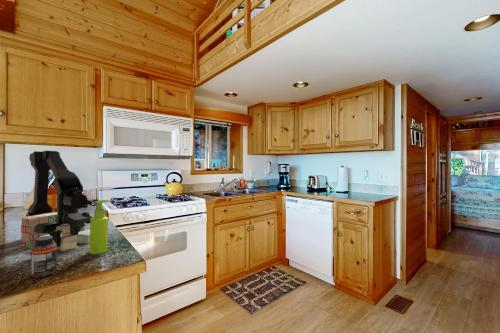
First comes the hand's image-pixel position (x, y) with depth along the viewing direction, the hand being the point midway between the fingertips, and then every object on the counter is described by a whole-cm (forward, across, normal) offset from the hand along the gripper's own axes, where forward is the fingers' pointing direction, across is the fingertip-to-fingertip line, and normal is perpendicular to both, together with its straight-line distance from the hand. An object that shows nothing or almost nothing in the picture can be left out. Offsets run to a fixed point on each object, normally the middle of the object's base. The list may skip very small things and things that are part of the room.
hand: (65, 244), depth 93 cm
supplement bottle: (+2, -17, -17) cm, 24 cm away
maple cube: (+2, 0, 0) cm, 2 cm away
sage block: (+2, +11, +2) cm, 11 cm away
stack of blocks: (+2, +6, +16) cm, 17 cm away
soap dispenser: (+2, +3, -15) cm, 15 cm away
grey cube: (+2, -1, +7) cm, 7 cm away
